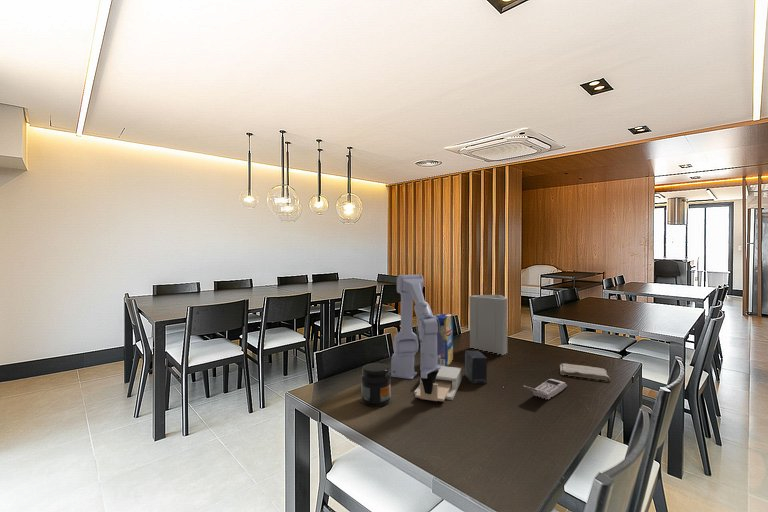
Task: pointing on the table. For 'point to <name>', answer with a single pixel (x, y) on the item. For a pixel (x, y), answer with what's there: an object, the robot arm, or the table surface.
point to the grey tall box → (488, 323)
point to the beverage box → (445, 340)
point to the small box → (476, 367)
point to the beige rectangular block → (435, 391)
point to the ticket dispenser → (448, 379)
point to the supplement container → (375, 384)
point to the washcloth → (583, 371)
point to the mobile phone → (548, 388)
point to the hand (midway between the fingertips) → (429, 392)
